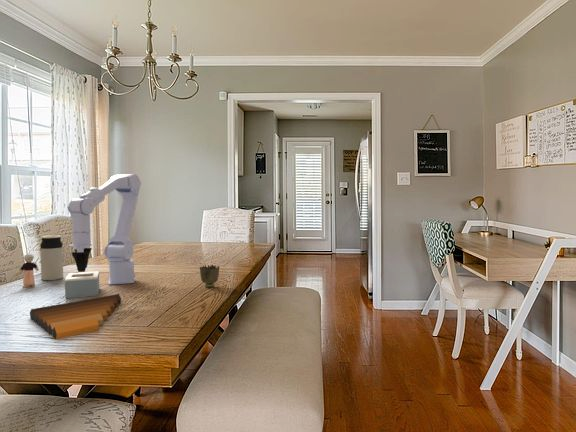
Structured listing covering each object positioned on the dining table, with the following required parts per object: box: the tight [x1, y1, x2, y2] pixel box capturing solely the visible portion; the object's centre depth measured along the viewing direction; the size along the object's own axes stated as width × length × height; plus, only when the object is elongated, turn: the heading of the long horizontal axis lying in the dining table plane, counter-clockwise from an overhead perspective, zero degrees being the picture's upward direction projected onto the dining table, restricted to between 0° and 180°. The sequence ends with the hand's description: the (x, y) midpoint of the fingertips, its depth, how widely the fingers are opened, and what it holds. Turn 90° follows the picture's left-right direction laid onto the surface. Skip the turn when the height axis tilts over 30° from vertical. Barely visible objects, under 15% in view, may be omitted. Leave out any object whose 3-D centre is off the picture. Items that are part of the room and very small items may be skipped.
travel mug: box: [39, 234, 64, 281], centre depth 170 cm, size 8×8×18 cm
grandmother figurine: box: [18, 253, 40, 288], centre depth 157 cm, size 8×4×13 cm, turn 168°
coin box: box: [64, 270, 100, 299], centre depth 146 cm, size 10×12×6 cm
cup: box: [199, 264, 220, 289], centre depth 155 cm, size 8×7×8 cm
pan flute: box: [29, 293, 122, 340], centre depth 117 cm, size 25×3×25 cm
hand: (82, 269), depth 146 cm, fingers open, 7 cm apart
